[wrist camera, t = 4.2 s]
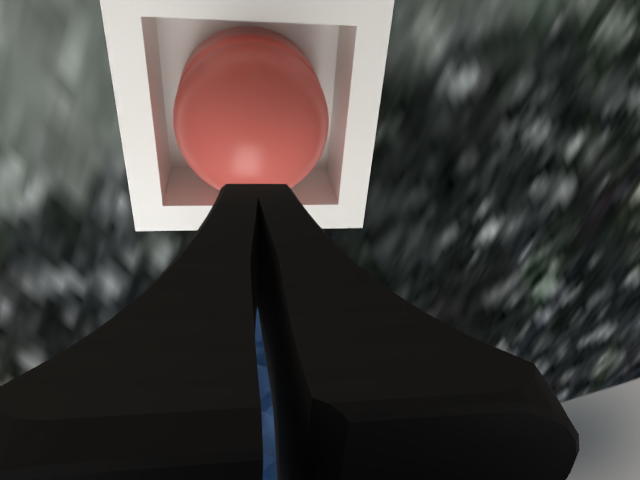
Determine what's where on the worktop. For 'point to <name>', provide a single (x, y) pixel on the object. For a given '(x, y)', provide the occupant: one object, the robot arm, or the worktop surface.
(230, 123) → the dome button
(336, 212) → the dome base
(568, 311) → the worktop surface
